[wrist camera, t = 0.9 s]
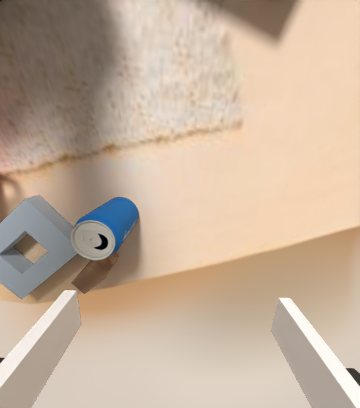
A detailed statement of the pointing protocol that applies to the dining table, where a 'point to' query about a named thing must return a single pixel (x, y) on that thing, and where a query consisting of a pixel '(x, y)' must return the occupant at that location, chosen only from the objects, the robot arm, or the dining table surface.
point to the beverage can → (104, 229)
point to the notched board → (44, 234)
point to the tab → (94, 273)
